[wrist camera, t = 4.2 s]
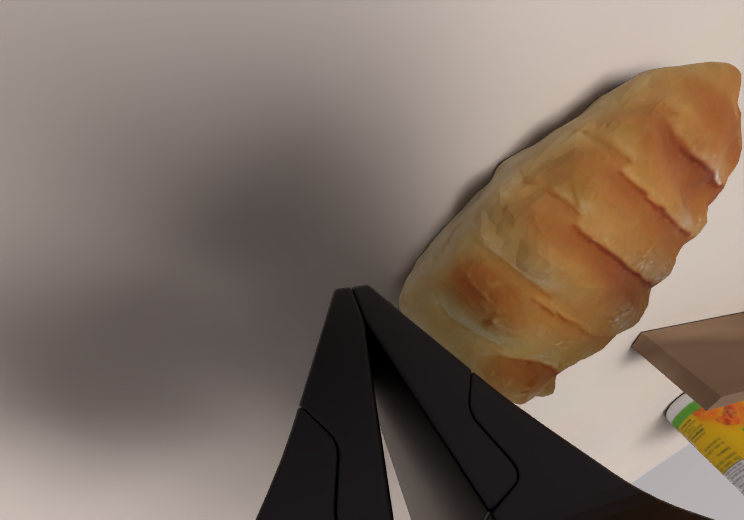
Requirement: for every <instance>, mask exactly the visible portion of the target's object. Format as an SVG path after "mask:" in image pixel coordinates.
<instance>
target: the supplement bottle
mask: <svg viewBox="0 0 744 520" xmlns="http://www.w3.org/2000/svg"><path fill="white" fill-rule="evenodd" d="M666 417H667V419H668V421H669V422H670V423H671V424H672V425H673V426H674V427H675V428H676V429H677V430H678V431H679V432H680V433H681V434H682V435H683V436H684V437H685V438H686V439H687V440H688V441H689V442H690V443H691V444H692V445H693V446H694V447H695V448H696V449H697V450H698V451H699V452H700V453H701V454H702V455H703V456H704V457H706V458H707V459H708V460H709V461H710V463H712V464H713V465H714V466H715V467H716V468H717V469H718V470H719V471H720V472H721V473H722V474H723V475H724V476H725V477H726V478H727V479H728V480H729V481H730V482H731V483H732V484H733V485H734V486H735V487H736V488H737V489H738V490H739V491H740V492H741V493H742V494H743V495H744V401H740V402H737V403H733V404H730V405H726V406H723V407H719V408H716V409H712V410H708V411H705V410H704V409H703V408H702V407H701V406H700V405H699V404H697V403H696V402H695V401H694V400H693V399H692V398H690V397H689V396H688V395H687V394H686V393H684V394H683V395H681V396H680V397H679V398H677V399H676V400H675V401H674V402H673V403H672V404H671V406H670V407H669V408H668V410H667V413H666Z"/></svg>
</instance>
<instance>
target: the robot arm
mask: <svg viewBox="0 0 744 520" xmlns="http://www.w3.org/2000/svg"><path fill="white" fill-rule="evenodd" d="M471 372H472V371H471V369H470V368H468V367H467V366H466V365H465V364H464V363H462V362H461V361H460V360H459V359H458V358H456V357H455V356H454V355H453V354H451V353H450V352H449V351H448V350H447V349H445V348H444V347H443V346H442V345H441V344H439V343H438V342H437V341H436V340H434V339H433V338H432V337H431V336H430V335H428V334H427V333H426V332H425V331H424V330H422V329H421V328H420V327H419V326H417V325H416V324H415V323H414V322H413V321H411V320H410V319H409V318H408V317H407V316H405V315H404V314H403V313H402V312H400V311H399V310H398V309H397V308H396V307H394V306H393V305H392V304H391V303H390V302H388V301H387V300H386V299H385V298H383V297H382V296H381V295H380V294H379V293H377V292H376V291H375V290H374V289H373V288H371V287H370V286H368V285H363V286H356V287H353V288H352V289H351V288H349V287H348V288H340V289H336V290H335V291H334V293H333V296H332V299H331V303H330V306H329V309H328V312H327V316H326V319H325V322H324V325H323V329H322V332H321V335H320V339H319V342H318V345H317V348H316V352H315V355H314V358H313V361H312V365H311V368H310V371H309V375H308V378H307V381H306V384H305V388H304V391H303V394H302V397H301V401H300V404H299V409H298V410H297V413H296V416H295V420H294V423H293V426H292V429H291V432H290V435H289V438H288V441H287V444H286V447H285V450H284V452H283V455H282V458H281V461H280V463H279V466H278V468H277V471H276V473H275V475H274V478H273V480H272V483H271V485H270V488H269V490H268V493H267V495H266V497H265V499H264V502H263V504H262V506H261V509H260V511H259V513H258V515H257V518H256V520H394V519H393V512H392V505H391V498H390V492H389V485H388V478H387V471H386V465H385V458H384V451H383V444H382V437H381V431H380V427H381V430H382V433H383V436H384V439H385V442H386V445H387V448H388V451H389V454H390V457H391V460H392V463H393V466H394V469H395V472H396V475H397V478H398V481H399V484H400V487H401V490H402V493H403V496H404V499H405V502H406V505H407V508H408V511H409V514H410V517H411V520H714V519H711V518H708V517H705V516H702V515H699V514H696V513H693V512H691V511H688V510H685V509H682V508H679V507H677V506H674V505H672V504H669V503H667V502H665V501H662V500H660V499H658V498H656V497H654V496H652V495H650V494H648V493H646V492H644V491H642V490H640V489H639V488H637V487H635V486H633V485H632V484H630V483H628V482H627V481H625V480H624V479H622V478H620V477H619V476H617V475H616V474H614V473H613V472H611V471H610V470H608V469H607V468H606V467H604V466H603V465H601V464H600V463H598V462H597V461H595V460H594V459H592V458H591V457H590V456H588V455H587V454H585V453H584V452H582V451H581V450H579V449H578V448H576V447H575V446H574V445H572V444H571V443H569V442H568V441H566V440H565V439H563V438H562V437H560V436H559V435H558V434H556V433H555V432H553V431H552V430H550V429H549V428H547V427H546V426H545V425H543V424H542V423H540V422H539V421H537V420H536V419H535V418H533V417H532V416H530V415H529V414H528V413H526V412H525V411H523V410H522V409H521V408H519V407H518V406H516V405H515V404H514V403H512V402H511V401H510V400H508V399H507V398H506V397H505V396H503V395H502V394H501V393H500V392H498V391H497V390H496V389H494V388H493V387H492V386H491V385H489V384H488V383H487V382H486V381H484V380H483V379H482V378H481V377H480V376H478V375H477V374H476V373H475V372H473V373H472V374H471Z"/></svg>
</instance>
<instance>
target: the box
mask: <svg viewBox="0 0 744 520" xmlns="http://www.w3.org/2000/svg"><path fill="white" fill-rule="evenodd" d="M632 347H633V348H634V349H635V350H636V351H637V352H638V353H640V354H641V355H642V356H643V357H644V358H645V359H647V360H648V361H649V362H650V363H651V364H652V365H653V366H655V367H656V368H657V369H658V370H659V371H660V372H662V373H663V374H664V375H665V376H666V377H667V378H668V379H670V380H671V381H672V382H673V383H674V384H675V385H677V386H678V387H679V388H680V389H681V390H682V391H683V392H685V393H686V394H687V395H688V396H689V397H690V398H692V399H693V400H694V401H695V402H696V403H697V404H699V405H700V406H701V407H702V408H703V409H704V410H705V411H708V410H712V409H716V408H719V407H723V406H726V405H730V404H733V403H737V402H740V401H744V312H743V313H738V314H733V315H728V316H723V317H718V318H713V319H708V320H703V321H698V322H693V323H688V324H683V325H677V326H672V327H667V328H662V329H657V330H652V331H647V332H642V333H641V334H640V336H639V337H638V338H637V340H636V341H635V342H634V344H633V345H632Z"/></svg>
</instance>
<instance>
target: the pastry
mask: <svg viewBox="0 0 744 520" xmlns="http://www.w3.org/2000/svg"><path fill="white" fill-rule="evenodd" d="M740 86H741V73H740V71H739V70H738V69H737V68H736V67H735V66H733V65H731V64H728V63H720V62H705V63H697V64H690V65H683V66H675V67H664V68H658V69H653V70H649V71H645V72H642V73H640V74H638V75H637V76H635V77H633V78H632V79H630V80H628V81H627V82H625V83H623V84H621V85H620V86H618V87H616V88H615V89H613V90H611V91H610V92H608V93H606V94H604V95H602V96H600V97H599V98H598V99H596V100H595V101H594V102H593V103H592V104H591V105H590V106H588V107H587V108H586V109H585V110H584V111H583V112H582V114H581V115H579V116H578V117H576V118H575V119H573V120H572V121H570V122H568V123H567V124H565V125H563V126H561V127H560V128H558V129H556V130H554V131H553V132H551V133H550V134H549V135H547V136H546V137H544V138H543V139H542V140H540V141H539V142H537V143H536V144H534V145H533V146H531V147H528V148H525V149H523V150H521V151H519V152H517V153H515V154H513V155H512V156H510V157H509V158H508V159H506V160H505V161H504V162H502V163H501V164H500V165H499V166H498V167H497V168H496V170H495V172H494V175H493V178H492V179H491V181H490V182H489V183H488V184H487V185H486V186H485V187H483V188H482V189H481V190H480V191H478V192H477V193H476V194H475V195H474V196H473V197H472V199H471V200H470V201H469V202H468V203H467V205H466V206H465V207H464V208H463V209H462V210H461V211H460V212H459V213H458V214H457V215H456V216H455V217H454V218H453V219H452V220H451V221H450V222H449V223H448V224H447V225H446V226H445V227H444V228H443V229H442V231H441V232H440V233H439V234H438V235H437V237H436V238H435V239H434V240H433V241H432V242H431V244H430V245H429V246H428V248H427V249H426V250H425V252H424V253H423V254H422V255H421V256H420V257H419V258H418V260H417V261H416V263H415V265H414V268H413V269H412V271H411V273H410V274H409V276H408V277H407V278H406V280H405V283H404V287H403V289H402V291H401V293H400V295H399V299H398V301H399V308H400V310H401V312H402V313H403V314H404V315H405V316H407V317H408V318H409V319H410V320H411V321H413V322H414V323H415V324H416V325H417V326H419V327H420V328H421V329H422V330H424V331H425V332H426V333H427V334H428V335H430V336H431V337H432V338H433V339H434V340H436V341H437V342H438V343H439V344H441V345H442V346H443V347H444V348H445V349H447V350H448V351H449V352H450V353H451V354H453V355H454V356H455V357H456V358H458V359H459V360H460V361H461V362H462V363H464V364H465V365H466V366H467V367H468V368H470V369H471V371H472V372H471V374H472V373H473V372H475V373H476V374H477V375H478V376H480V377H481V378H482V379H483V380H484V381H486V382H487V383H488V384H489V385H491V386H492V387H493V388H494V389H496V390H497V391H498V392H500V393H501V394H502V395H503V396H505V397H506V398H507V399H508V400H510V401H511V402H513V403H516V404H524V403H526V402H527V401H529V400H531V399H532V398H533V397H535V396H541V397H543V396H547V395H550V394H553V392H554V389H555V379H556V375H557V374H559V373H560V372H561V371H563V370H564V369H566V368H568V367H569V366H572V365H574V364H575V363H577V362H578V361H580V360H582V359H585V358H587V357H589V356H591V355H593V354H595V353H596V352H598V351H600V350H602V349H603V348H604V347H605V346H606V345H607V344H608V343H609V342H610V341H611V340H612V339H613V338H614V337H615V336H616V335H617V334H619V333H621V332H623V331H625V330H627V329H629V328H631V327H633V326H634V325H635V324H636V323H638V322H639V320H640V318H641V317H642V315H643V314H644V311H645V309H646V308H647V306H648V302H649V295H650V291H651V288H652V287H653V286H655V285H657V284H658V283H659V282H661V281H662V280H664V279H665V278H666V277H667V276H668V275H669V274H670V273H671V271H672V268H673V266H674V264H675V262H676V257H677V255H678V253H679V251H680V249H681V248H682V246H683V245H684V244H685V243H687V242H688V241H690V240H691V239H693V238H694V237H696V236H697V235H698V234H699V233H700V232H701V230H702V229H703V227H704V226H705V224H706V223H707V211H708V206H709V205H710V204H711V203H712V202H713V201H714V199H715V198H716V197H717V195H718V194H719V193H720V192H721V191H722V189H723V188H724V186H725V184H726V182H727V179H728V176H729V175H730V174H731V172H732V171H733V170H734V168H735V167H736V165H737V163H738V161H739V157H740V154H741V150H742V137H741V112H740V109H739V107H738V104H737V102H738V97H739V91H740Z"/></svg>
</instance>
